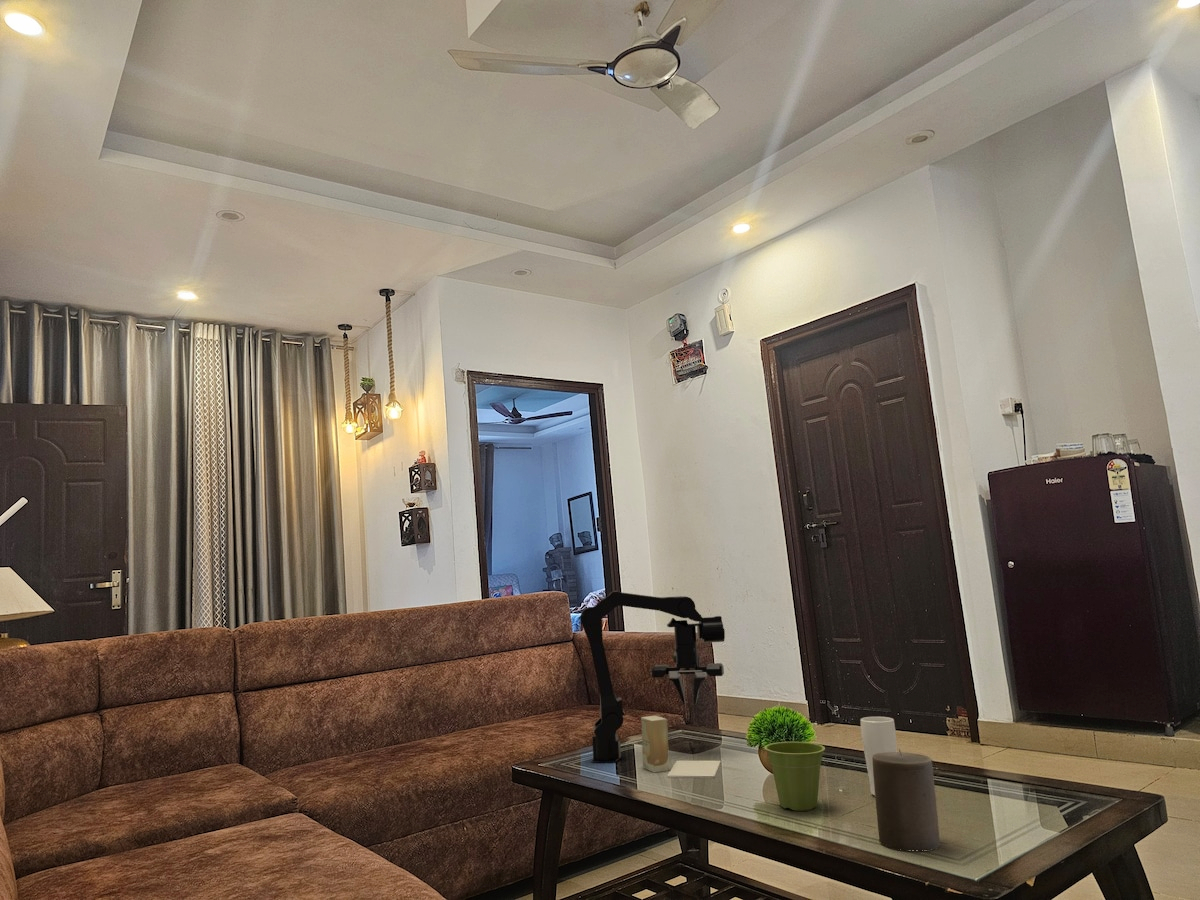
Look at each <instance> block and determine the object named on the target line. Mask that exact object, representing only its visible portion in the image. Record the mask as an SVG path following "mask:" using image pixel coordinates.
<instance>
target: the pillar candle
mask: <svg viewBox="0 0 1200 900" xmlns="http://www.w3.org/2000/svg"><path fill="white" fill-rule="evenodd" d="M872 760H873V776H874V787H875V796H874V798H875V809H876V820H877V821H876V823H877V830H878V841H879V843H880V842H881V843H880V844H881V845H883V846H885V847H887V848H889V847H890V849H892V848H893V849H892V850H895V849H899V850H900V849H901V850H911V851H912V850H914V851H916V850H918V851H922V850H923V851H924V850H931V849H935V850H937V849H938V847H939V848H940V846H941V838H940V830H939V829H940V828H939V819H938V810H937V809H938V807H937V797H936V787H935V779H934V769H933V758H932V757H930V756H928V755H924V754H921V753H914V752H907V751H901V749H900V748H898V751H897V752H883V753H877V754H874V755H873V757H872ZM936 848H937V849H936ZM899 850H898V851H899ZM931 851H932V850H931Z"/></svg>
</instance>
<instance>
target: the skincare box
mask: <svg viewBox="0 0 1200 900" xmlns="http://www.w3.org/2000/svg"><path fill="white" fill-rule="evenodd" d="M640 718H641V748H642V750H641V751H642V768H643V769H645V770H648V771H650V772H652V773H660V772H661V773H662V772H667V771H670V760H669V759H670V758H669V757H670V755H669V753H670V752H669V736H668V734H669V733H668V719H667V718H665V717H662V716H658V715H650V716H642V717H640Z"/></svg>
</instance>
